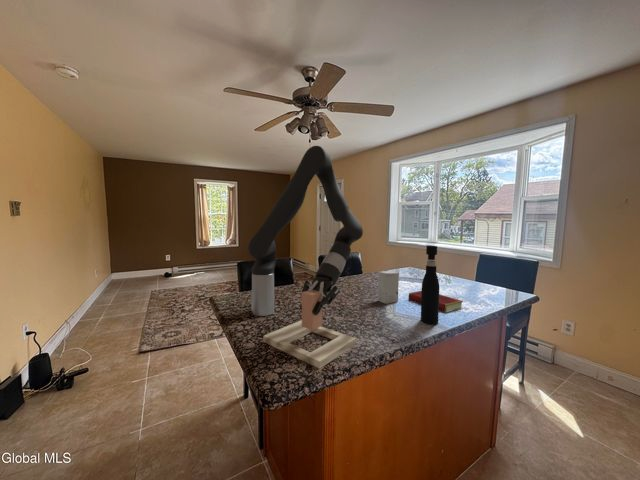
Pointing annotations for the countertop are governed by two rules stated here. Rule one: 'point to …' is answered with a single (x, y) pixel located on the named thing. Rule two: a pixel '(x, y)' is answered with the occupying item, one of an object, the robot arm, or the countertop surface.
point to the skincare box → (388, 287)
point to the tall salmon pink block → (310, 310)
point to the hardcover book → (444, 301)
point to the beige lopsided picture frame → (319, 355)
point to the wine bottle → (430, 290)
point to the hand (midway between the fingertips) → (307, 311)
